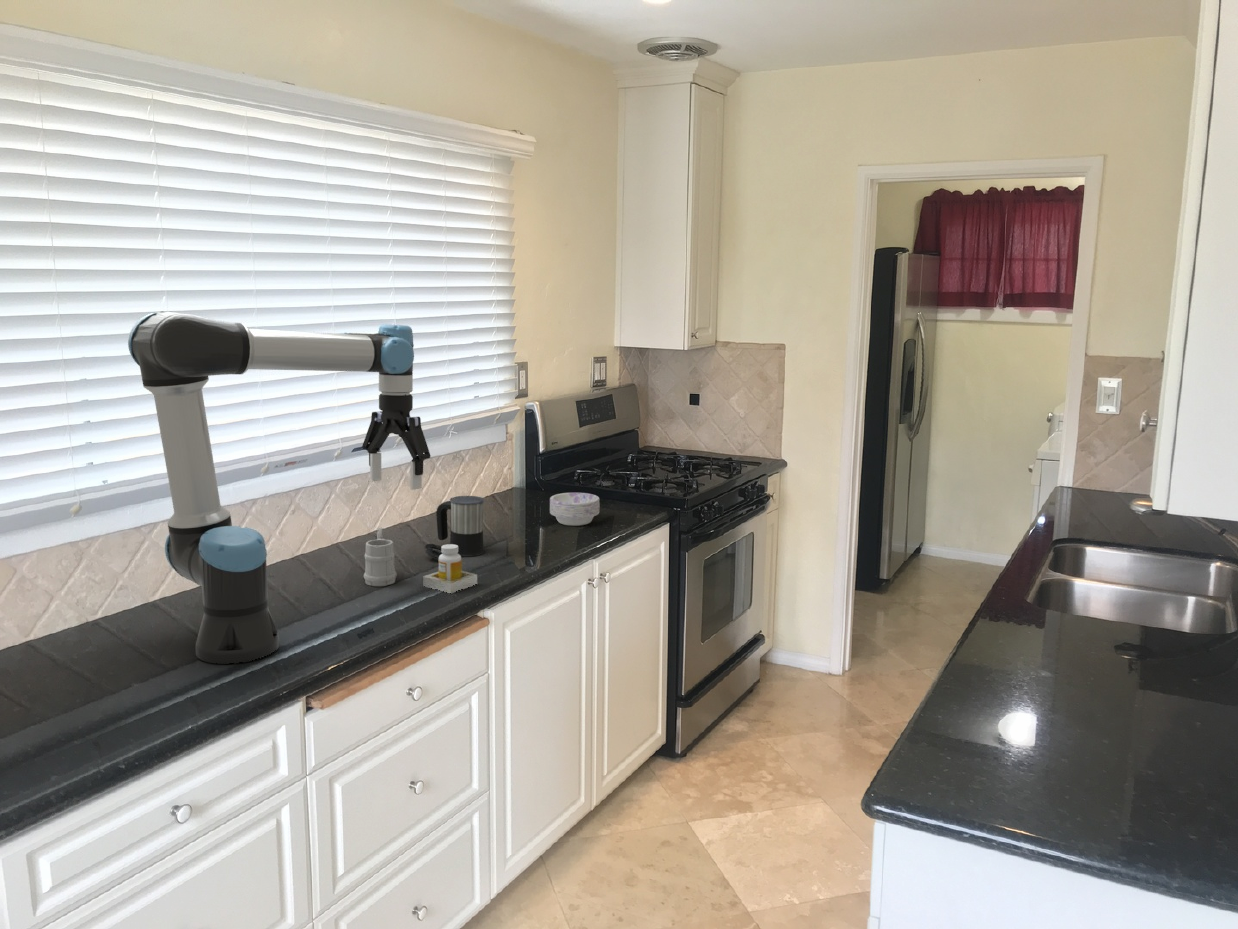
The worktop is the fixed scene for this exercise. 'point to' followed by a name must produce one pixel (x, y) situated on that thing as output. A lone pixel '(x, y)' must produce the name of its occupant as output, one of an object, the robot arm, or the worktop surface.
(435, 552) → the milk frother
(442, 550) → the supplement bottle
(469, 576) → the square picture frame
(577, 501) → the paper bowls
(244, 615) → the robot arm
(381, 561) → the mug
